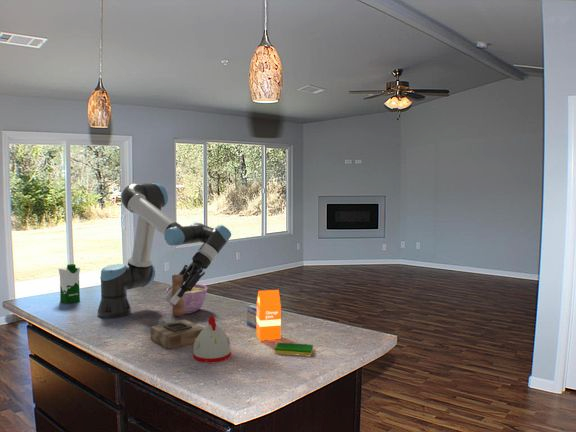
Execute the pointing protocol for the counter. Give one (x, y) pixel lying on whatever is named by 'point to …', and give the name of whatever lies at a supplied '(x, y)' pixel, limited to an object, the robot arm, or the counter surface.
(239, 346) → the counter surface
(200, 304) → the bowl of food
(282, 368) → the counter surface
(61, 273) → the milk carton
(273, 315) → the orange juice
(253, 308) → the medicine box
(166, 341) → the walnut socket block
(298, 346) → the dish sponge
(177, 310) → the terracotta peg
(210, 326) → the kitchen timer
